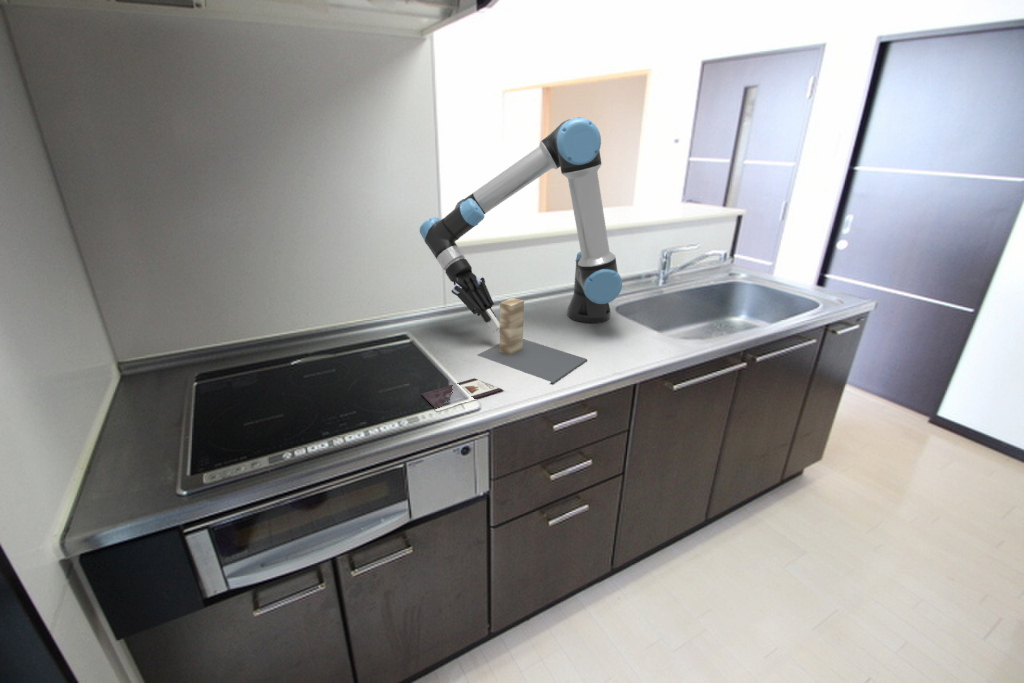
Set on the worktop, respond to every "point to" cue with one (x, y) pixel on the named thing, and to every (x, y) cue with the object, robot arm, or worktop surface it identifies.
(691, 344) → the worktop surface
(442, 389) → the chocolate bar
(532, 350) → the rubber mat
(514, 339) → the wooden block
